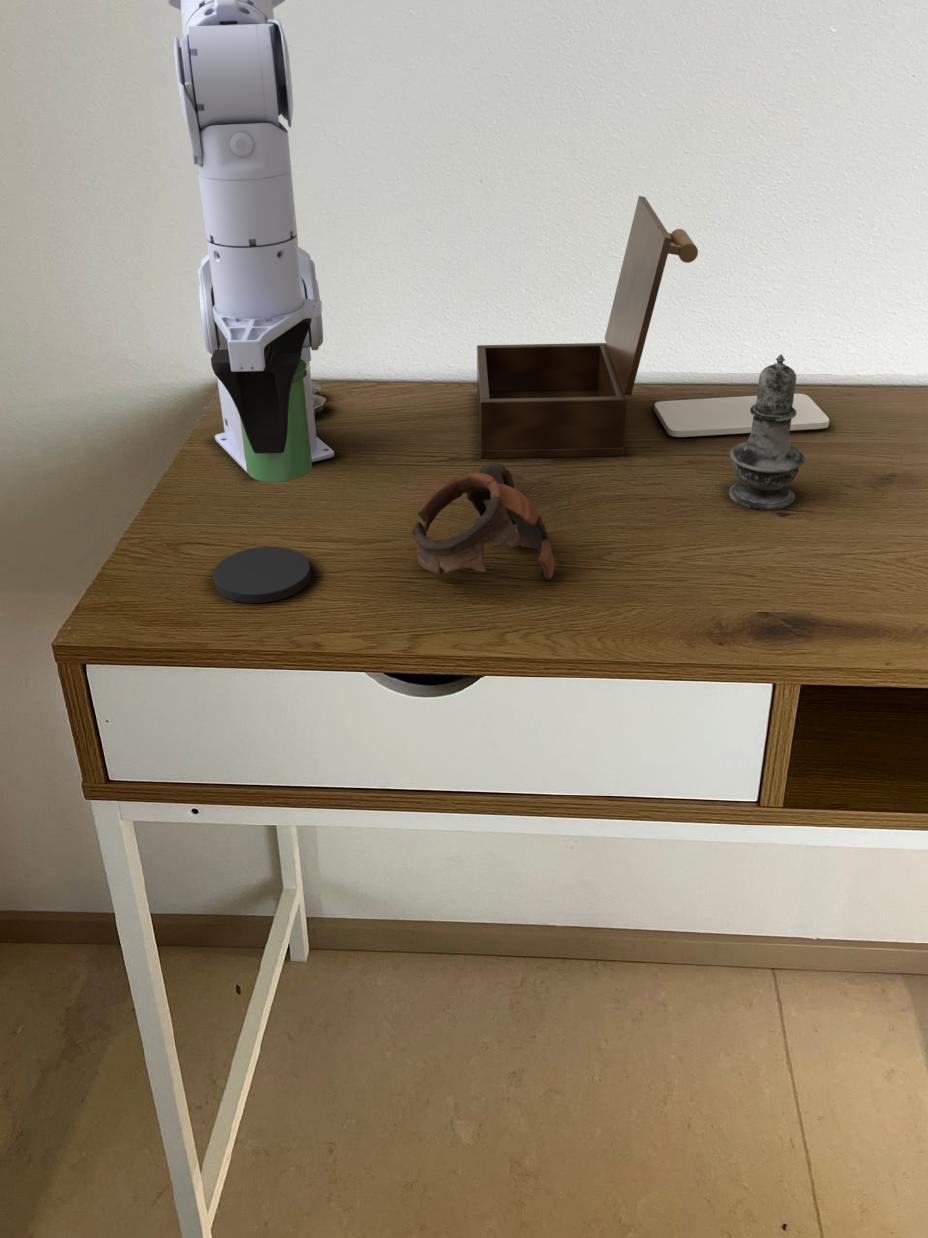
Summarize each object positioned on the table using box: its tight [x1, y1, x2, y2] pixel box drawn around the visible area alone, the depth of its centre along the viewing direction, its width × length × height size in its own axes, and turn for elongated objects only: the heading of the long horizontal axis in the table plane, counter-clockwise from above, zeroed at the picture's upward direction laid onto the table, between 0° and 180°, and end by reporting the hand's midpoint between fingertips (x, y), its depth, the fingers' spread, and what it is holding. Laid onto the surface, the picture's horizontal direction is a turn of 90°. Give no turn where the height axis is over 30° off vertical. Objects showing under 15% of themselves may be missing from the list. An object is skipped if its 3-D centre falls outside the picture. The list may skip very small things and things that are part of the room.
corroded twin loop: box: [311, 382, 327, 415], centre depth 111 cm, size 5×8×1 cm, turn 13°
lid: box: [604, 195, 699, 397], centre depth 101 cm, size 13×15×4 cm
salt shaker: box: [728, 354, 805, 511], centre depth 91 cm, size 6×6×12 cm
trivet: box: [213, 546, 312, 604], centre depth 84 cm, size 7×7×1 cm
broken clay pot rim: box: [411, 462, 555, 581], centre depth 84 cm, size 12×10×8 cm
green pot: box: [240, 359, 313, 483], centre depth 79 cm, size 5×5×8 cm
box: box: [476, 342, 628, 459], centre depth 106 cm, size 13×15×5 cm
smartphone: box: [653, 393, 830, 438], centre depth 107 cm, size 7×1×15 cm
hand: (274, 435), depth 80 cm, fingers closed on green pot, 5 cm apart
